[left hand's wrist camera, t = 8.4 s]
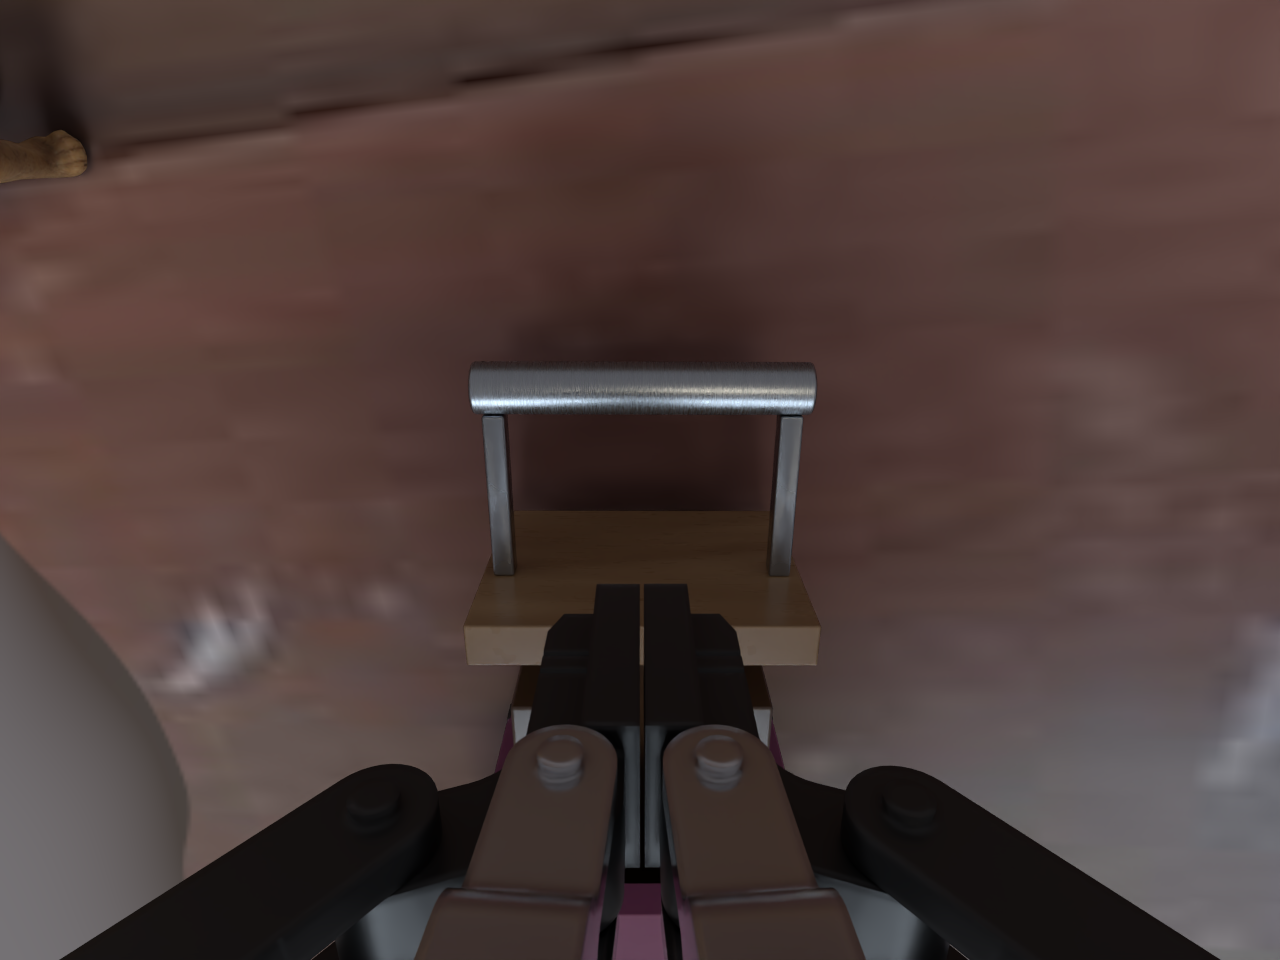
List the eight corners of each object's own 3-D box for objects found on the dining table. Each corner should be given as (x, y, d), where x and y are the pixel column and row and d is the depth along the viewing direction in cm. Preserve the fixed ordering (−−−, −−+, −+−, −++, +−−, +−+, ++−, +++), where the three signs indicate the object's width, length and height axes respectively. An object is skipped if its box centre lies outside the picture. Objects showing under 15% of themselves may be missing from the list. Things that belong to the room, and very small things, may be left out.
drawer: (496, 330, 23) (439, 391, 17) (787, 331, 23) (847, 391, 17) (535, 918, 33) (509, 1106, 26) (742, 918, 33) (769, 1106, 26)
